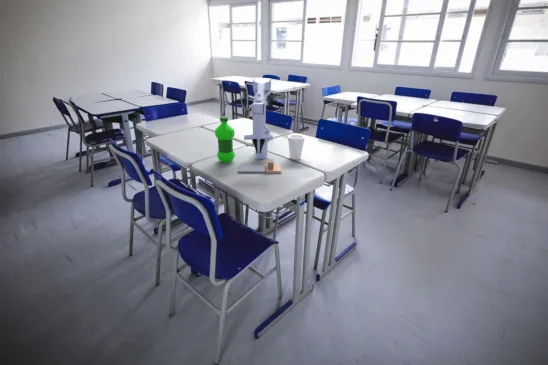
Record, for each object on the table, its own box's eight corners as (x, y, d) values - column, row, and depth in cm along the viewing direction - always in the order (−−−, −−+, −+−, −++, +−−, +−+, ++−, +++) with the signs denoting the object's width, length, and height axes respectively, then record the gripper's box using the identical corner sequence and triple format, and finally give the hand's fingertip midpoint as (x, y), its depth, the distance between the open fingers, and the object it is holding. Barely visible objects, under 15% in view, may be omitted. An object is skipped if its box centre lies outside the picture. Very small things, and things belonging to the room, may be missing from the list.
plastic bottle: (224, 156, 166) (222, 114, 155) (239, 160, 162) (237, 117, 151) (213, 162, 159) (209, 117, 148) (227, 166, 154) (225, 120, 143)
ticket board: (239, 166, 154) (239, 163, 154) (265, 166, 155) (265, 163, 154) (238, 173, 145) (238, 171, 145) (265, 173, 146) (265, 171, 145)
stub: (265, 165, 155) (265, 157, 153) (280, 165, 155) (280, 157, 153) (265, 173, 146) (266, 164, 144) (281, 173, 146) (281, 164, 144)
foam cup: (293, 161, 161) (295, 140, 156) (284, 157, 168) (284, 136, 162) (306, 158, 166) (307, 137, 161) (296, 154, 173) (297, 133, 168)
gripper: (243, 129, 136) (244, 155, 142) (273, 129, 137) (272, 155, 143) (244, 125, 143) (244, 150, 148) (272, 125, 143) (272, 151, 149)
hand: (258, 153), depth 146 cm, fingers closed
